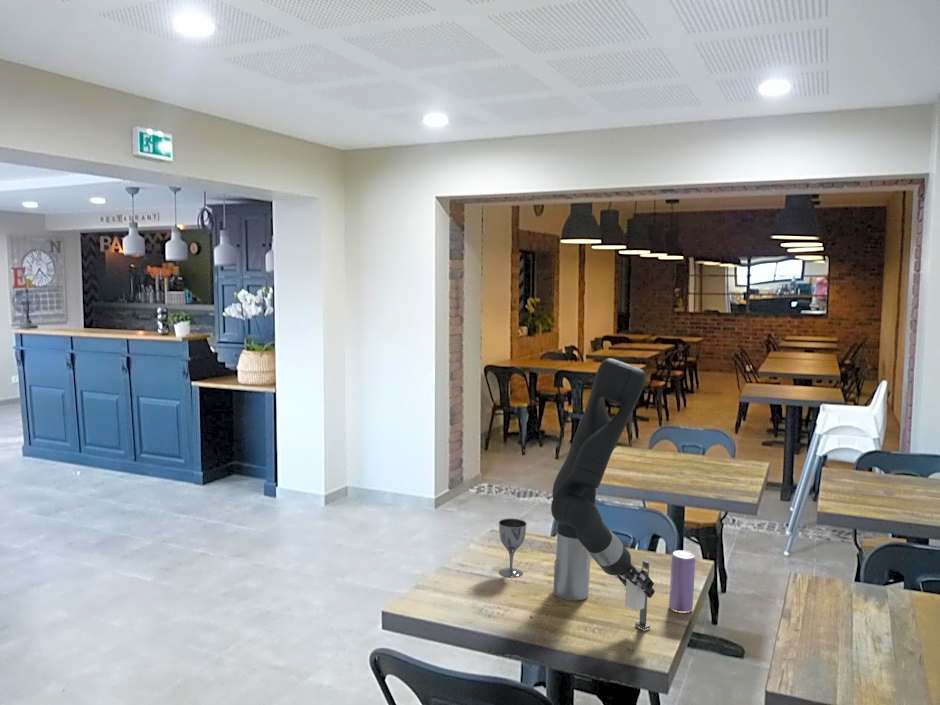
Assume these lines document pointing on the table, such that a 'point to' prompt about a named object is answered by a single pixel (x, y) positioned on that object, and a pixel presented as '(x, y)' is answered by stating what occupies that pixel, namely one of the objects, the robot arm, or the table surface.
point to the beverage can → (682, 581)
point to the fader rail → (643, 612)
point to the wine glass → (512, 542)
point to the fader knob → (634, 595)
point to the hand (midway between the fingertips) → (640, 588)
